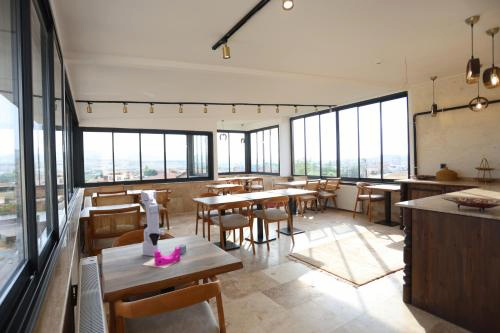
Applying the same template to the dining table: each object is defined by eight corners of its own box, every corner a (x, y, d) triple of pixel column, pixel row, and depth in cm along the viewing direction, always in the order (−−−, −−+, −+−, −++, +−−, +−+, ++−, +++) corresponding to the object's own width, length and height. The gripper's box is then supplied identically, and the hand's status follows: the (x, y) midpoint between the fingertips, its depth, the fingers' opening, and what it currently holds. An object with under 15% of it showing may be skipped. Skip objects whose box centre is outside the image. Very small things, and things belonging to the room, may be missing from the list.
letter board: (142, 264, 169) (142, 264, 169) (159, 255, 184) (159, 255, 184) (165, 268, 163) (165, 267, 163) (180, 258, 178) (180, 258, 178)
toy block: (156, 266, 165) (155, 254, 165) (154, 262, 171) (154, 250, 171) (181, 261, 172) (180, 249, 172) (178, 258, 178) (178, 246, 178)
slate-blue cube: (175, 253, 187) (175, 246, 187) (180, 251, 192) (179, 244, 191) (182, 254, 185) (181, 247, 185) (186, 252, 190) (185, 244, 190)
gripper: (140, 224, 173) (141, 246, 173) (159, 226, 168) (160, 248, 168) (148, 221, 179) (148, 242, 180) (166, 223, 174) (167, 244, 175)
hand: (154, 245), depth 174 cm, fingers closed
